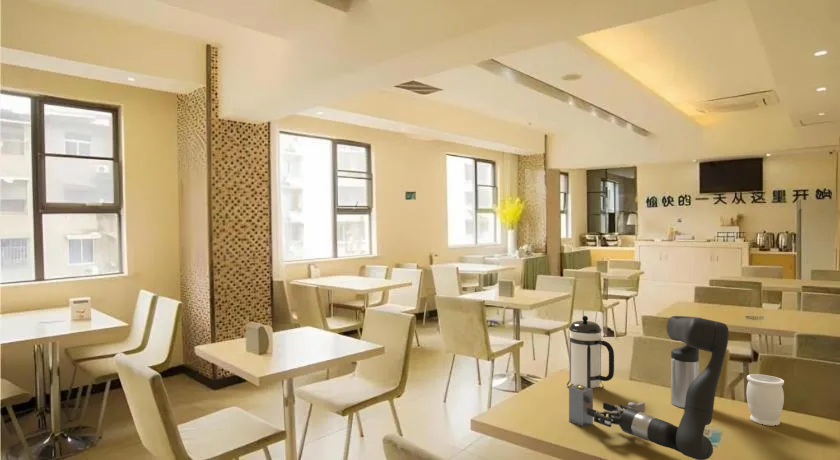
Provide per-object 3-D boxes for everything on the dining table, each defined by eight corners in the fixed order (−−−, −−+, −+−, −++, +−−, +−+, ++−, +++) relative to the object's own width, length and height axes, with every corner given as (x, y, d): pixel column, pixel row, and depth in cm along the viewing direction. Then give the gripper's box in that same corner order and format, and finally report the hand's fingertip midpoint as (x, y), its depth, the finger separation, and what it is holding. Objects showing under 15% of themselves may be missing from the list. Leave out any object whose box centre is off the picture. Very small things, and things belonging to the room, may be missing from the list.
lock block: (578, 418, 175) (578, 382, 175) (592, 424, 170) (592, 387, 170) (569, 421, 173) (569, 385, 172) (583, 427, 168) (583, 390, 167)
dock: (638, 415, 177) (639, 399, 177) (674, 428, 166) (674, 410, 166) (618, 423, 171) (618, 406, 171) (653, 437, 160) (653, 418, 160)
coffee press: (569, 393, 200) (569, 319, 200) (564, 380, 216) (564, 312, 215) (614, 395, 197) (614, 320, 197) (606, 382, 213) (606, 313, 212)
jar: (779, 418, 174) (780, 375, 174) (787, 429, 165) (787, 384, 164) (743, 413, 179) (744, 372, 178) (749, 424, 169) (749, 380, 169)
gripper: (653, 407, 156) (609, 392, 170) (626, 417, 149) (581, 401, 162) (653, 431, 157) (608, 414, 170) (625, 442, 149) (581, 424, 162)
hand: (595, 408), depth 166 cm, fingers open, 8 cm apart
